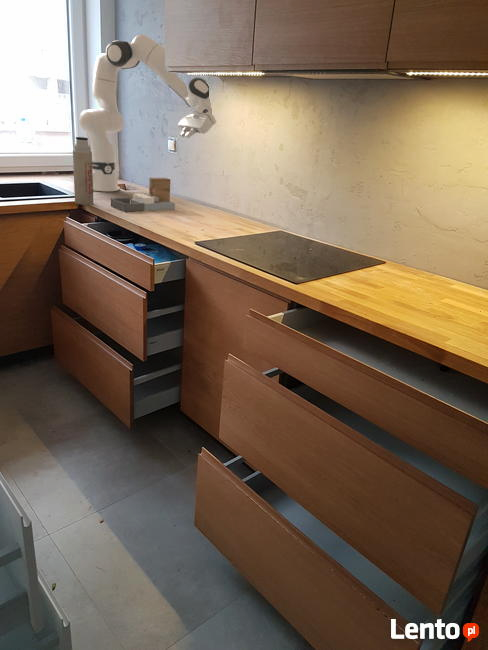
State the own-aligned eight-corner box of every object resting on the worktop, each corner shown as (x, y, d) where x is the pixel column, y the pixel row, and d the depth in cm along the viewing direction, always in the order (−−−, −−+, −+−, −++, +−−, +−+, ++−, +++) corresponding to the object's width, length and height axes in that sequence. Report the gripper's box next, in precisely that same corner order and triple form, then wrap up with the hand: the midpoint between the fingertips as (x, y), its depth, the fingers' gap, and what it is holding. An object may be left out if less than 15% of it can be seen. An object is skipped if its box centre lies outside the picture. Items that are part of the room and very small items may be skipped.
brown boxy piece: (143, 198, 230) (143, 176, 226) (160, 198, 236) (160, 176, 232) (156, 203, 222) (157, 180, 218) (173, 202, 227) (174, 180, 224)
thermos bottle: (97, 203, 224) (95, 138, 213) (82, 205, 218) (79, 137, 207) (86, 200, 228) (84, 136, 217) (71, 202, 222) (68, 136, 211)
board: (130, 205, 227) (130, 199, 226) (160, 204, 237) (161, 198, 236) (143, 210, 219) (144, 204, 218) (174, 209, 229) (174, 202, 228)
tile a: (132, 199, 226) (132, 193, 225) (142, 199, 229) (142, 193, 228) (138, 201, 222) (138, 195, 221) (147, 201, 226) (148, 195, 225)
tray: (110, 206, 222) (110, 198, 220) (129, 205, 228) (129, 197, 226) (124, 212, 213) (124, 204, 211) (144, 211, 218) (144, 203, 217)
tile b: (138, 201, 222) (138, 196, 221) (148, 201, 225) (148, 195, 224) (144, 203, 219) (144, 198, 218) (154, 203, 222) (154, 197, 221)
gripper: (186, 108, 237) (168, 129, 235) (211, 111, 223) (192, 133, 221) (193, 119, 241) (175, 139, 239) (218, 122, 228) (200, 144, 225)
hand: (184, 136), depth 230 cm, fingers open, 3 cm apart
